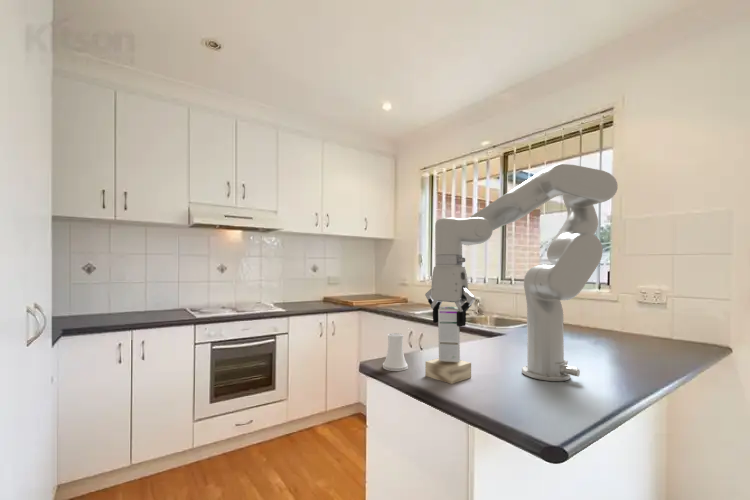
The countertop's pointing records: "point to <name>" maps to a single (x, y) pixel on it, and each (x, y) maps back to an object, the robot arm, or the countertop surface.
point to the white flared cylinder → (395, 353)
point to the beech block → (448, 370)
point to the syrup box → (448, 334)
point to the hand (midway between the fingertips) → (448, 323)
